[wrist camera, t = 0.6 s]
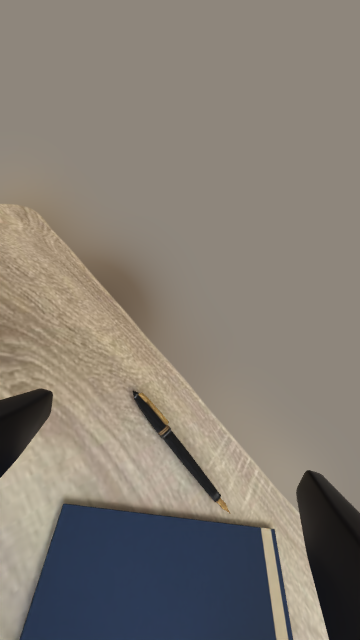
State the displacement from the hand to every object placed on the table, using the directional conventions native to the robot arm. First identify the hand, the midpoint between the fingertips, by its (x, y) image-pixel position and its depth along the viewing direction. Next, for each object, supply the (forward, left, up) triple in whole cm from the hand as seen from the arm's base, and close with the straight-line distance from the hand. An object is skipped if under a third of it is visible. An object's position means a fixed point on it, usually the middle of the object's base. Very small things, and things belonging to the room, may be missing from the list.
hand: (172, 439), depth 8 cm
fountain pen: (+4, -8, -15) cm, 17 cm away
